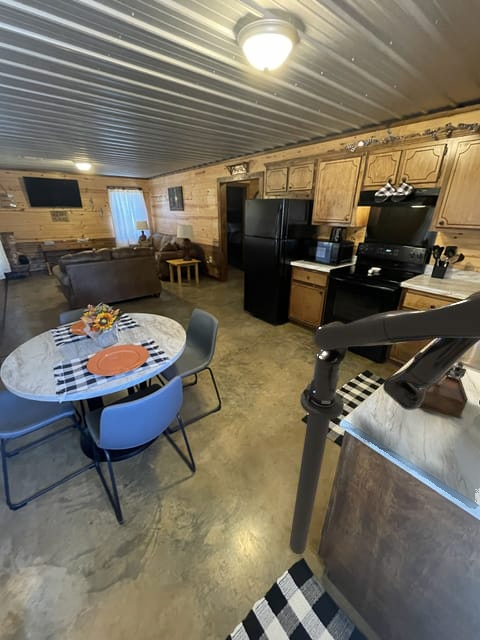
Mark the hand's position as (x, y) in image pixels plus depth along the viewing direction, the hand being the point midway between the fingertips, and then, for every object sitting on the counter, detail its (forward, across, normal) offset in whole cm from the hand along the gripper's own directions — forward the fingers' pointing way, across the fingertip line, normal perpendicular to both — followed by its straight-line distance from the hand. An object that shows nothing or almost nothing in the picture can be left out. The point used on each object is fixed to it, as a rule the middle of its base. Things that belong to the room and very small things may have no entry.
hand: (446, 359), depth 95 cm
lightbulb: (-1, 0, +11) cm, 11 cm away
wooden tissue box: (-1, 0, +18) cm, 18 cm away
